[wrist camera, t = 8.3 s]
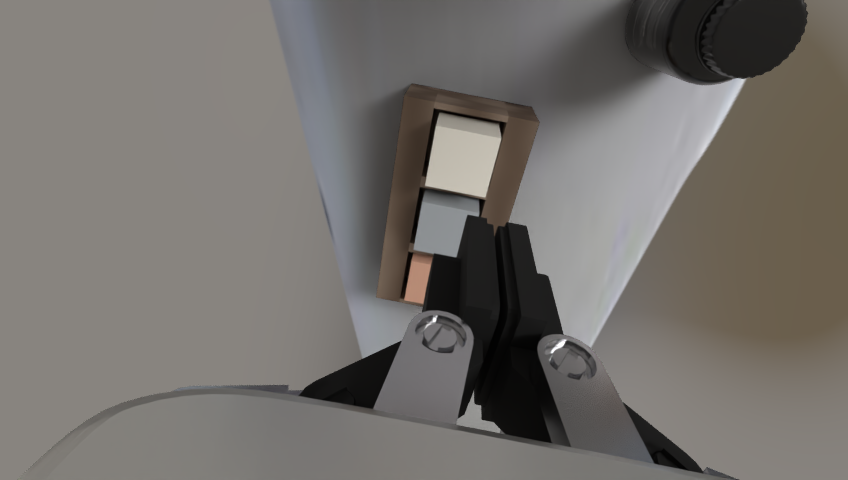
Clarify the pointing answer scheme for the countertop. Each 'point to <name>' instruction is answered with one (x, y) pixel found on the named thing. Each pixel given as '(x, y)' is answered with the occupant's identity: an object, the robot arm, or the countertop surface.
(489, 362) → the robot arm
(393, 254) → the key console
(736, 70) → the supplement bottle
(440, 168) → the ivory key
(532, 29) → the countertop surface
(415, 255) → the terracotta key
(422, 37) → the countertop surface
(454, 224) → the slate key
